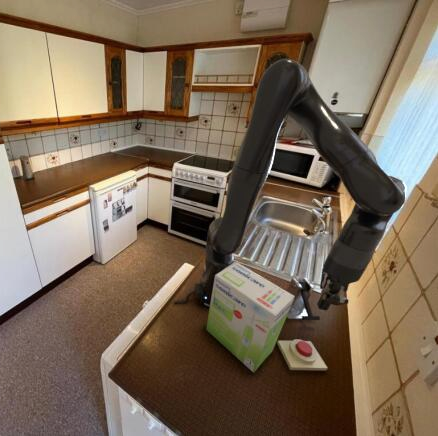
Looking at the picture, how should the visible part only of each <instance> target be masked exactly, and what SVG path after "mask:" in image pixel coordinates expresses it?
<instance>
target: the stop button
mask: <svg viewBox="0 0 438 436" xmlns="http://www.w3.org/2000/svg"><path fill="white" fill-rule="evenodd" d="M304 341H305V340H303V341H300V342H298V344H297V346H296V349H297V351H298V352H299V353H300V354H301V355H302V356H305V357H308V356H310V354H311V353H312V347H311V346H310V345H309V344H308V343H306V342H304Z"/></svg>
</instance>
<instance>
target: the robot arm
mask: <svg viewBox="0 0 438 436" xmlns="http://www.w3.org/2000/svg"><path fill="white" fill-rule="evenodd" d="M287 115H288V116H289V117H290V118H291V119H293V120H294V121H295V122H296V123H297V125H298V126H299V127H300V128H301V129H302V131H303V132H304V134H305V135H306V136H307V138H308V140H309V141H310V143H311V145H312V146H313V148H314V149H315V151H316V152H317V154H318V155H319V156H320V157H321V159H322V160H323V161H324V162H325V163H326V165H327V166H328V167H329V168H330V169H331V170H332V171H333V172H334V174H335V175H336V176H337V177H338V178H339V179H340V181H341V182H342V184H343V186H344V188H345V190H346V191H347V194H349V196H350V197H351V199H352V200H353V202H354V203H355V204H354V205H353V208H352V211H351V213H350V215H349V217H347V219H346V221H345V222H344V224H343V226H342V227H341V229H340V231H339V233H338V236H337V238H336V239H335V240H334V242H333V244H332V245H331V248H330V249H329V252H328V254H327V256H326V258H325V260H324V263H323V265H322V266H323V267H322V269H321V277H320V285H319V289H320V290H321V291H320V297H319V298H318V301H317V303H316V305H317V309H319V310H323V311H325V312H326V311H328V310H329V309H330V307H331V305H333V306H336V307H337V306H342V305H348V304H349V298H346V297H345V293H346V292H347V291H348V290H349V286H350V284H352V283H353V284H354V283H357V282H359V281H360V280H361V278H362V277H363V275H364V273H365V271H366V270H367V268H368V266H369V265H370V263H371V261H372V259H373V257H374V254H375V252H376V250H377V248H378V246H379V245H380V243H381V241H382V240H383V237H384V235H385V233H386V230H387V226H388V223H389V222H390V220H391V218H392V217H393V215H394V214H396V213H397V212H398V211H400V210H401V209H402V208H403V206H404V205H405V202H406V200H407V193H408V192H407V185H406V184H405V182H404V181H403V180H401V178H399V177H397V176H395V175H390V174H387V173H386V171H385V170H384V169H383V168H382V167H381V166H380V164H379V163H378V161H377V157H376V155H375V154H374V153H373V151H372V150H371V149H370V147H368V145H367V144H366V143H365V142H364V141H363V140H362V138H360V136H358V135H357V134H356V133H355V132H354V131H353V130H352V129H351V128H350V127H349V125H347V124H346V123H345V122H344V121H343V120H342V119H341V118H340V117H339V116H338V115H337V114H336V113H335V112H334V111H333V110H332V109H331V108H330V106H328V104H327V103H326V102H325V101H324V100H323V98H322V97H321V95H320V94H319V92H318V90H317V89H316V87H315V85H314V84H313V82H312V80H311V78H310V75H309V72H308V70H307V69H306V67H304V66H303V65H302V64H300V63H299V62H298V61H296V60H294V59H290V58H282V59H279V60H277V61H275V62H273V63H272V64H270V65H269V67H268V68H266V70H265V71H264V72H263V73H262V75H261V77H260V79H259V82H258V84H257V88H256V93H255V96H254V101H253V105H252V109H251V115H250V118H249V120H248V121H249V122H248V124H247V128H246V130H245V133H244V135H243V138H242V140H241V144H240V147H239V149H238V152H237V155H236V157H235V160H234V163H233V166H232V168H231V171H230V175H229V178H228V182H227V188H226V197H225V206H224V212H223V215H222V216H220V217H217V218H215V219H214V220H212V221H211V223H210V225H209V227H208V230H207V235H206V243H205V258H204V263H203V264H204V265H203V269H202V273H201V274H200V278H199V283H194V288H193V290H192V291H190V292H189V293H188V294H187V295H186V298H185V300H175V301H174V304H181V305H182V304H186V303H187V302H189V299H190V296H191V295H193V294H194V295H195V298H196V300H199V303H200V305H201V306H205V307H207V308H209V309H210V303H211V297H212V291H213V285H214V279H215V275H216V274H218V273H219V272H221V271H222V270H224V269H225V268H227V267H228V266H230V265H231V264H233V263H234V262H235V254H234V253H236V252H237V251H238V250H239V249H240V247H241V246H242V245H243V241H244V237H245V234H246V230H247V227H248V224H249V220H250V218H251V215H252V213H253V211H254V209H255V207H256V204H257V202H258V199H259V198H260V194H261V192H262V191H263V188H264V186H265V184H266V182H267V179H268V177H269V174H270V172H271V169H272V167H273V163H274V158H275V153H276V146H277V141H278V136H279V133H280V130H281V127H282V126H283V123H284V120H285V119H286V116H287Z"/></svg>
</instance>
